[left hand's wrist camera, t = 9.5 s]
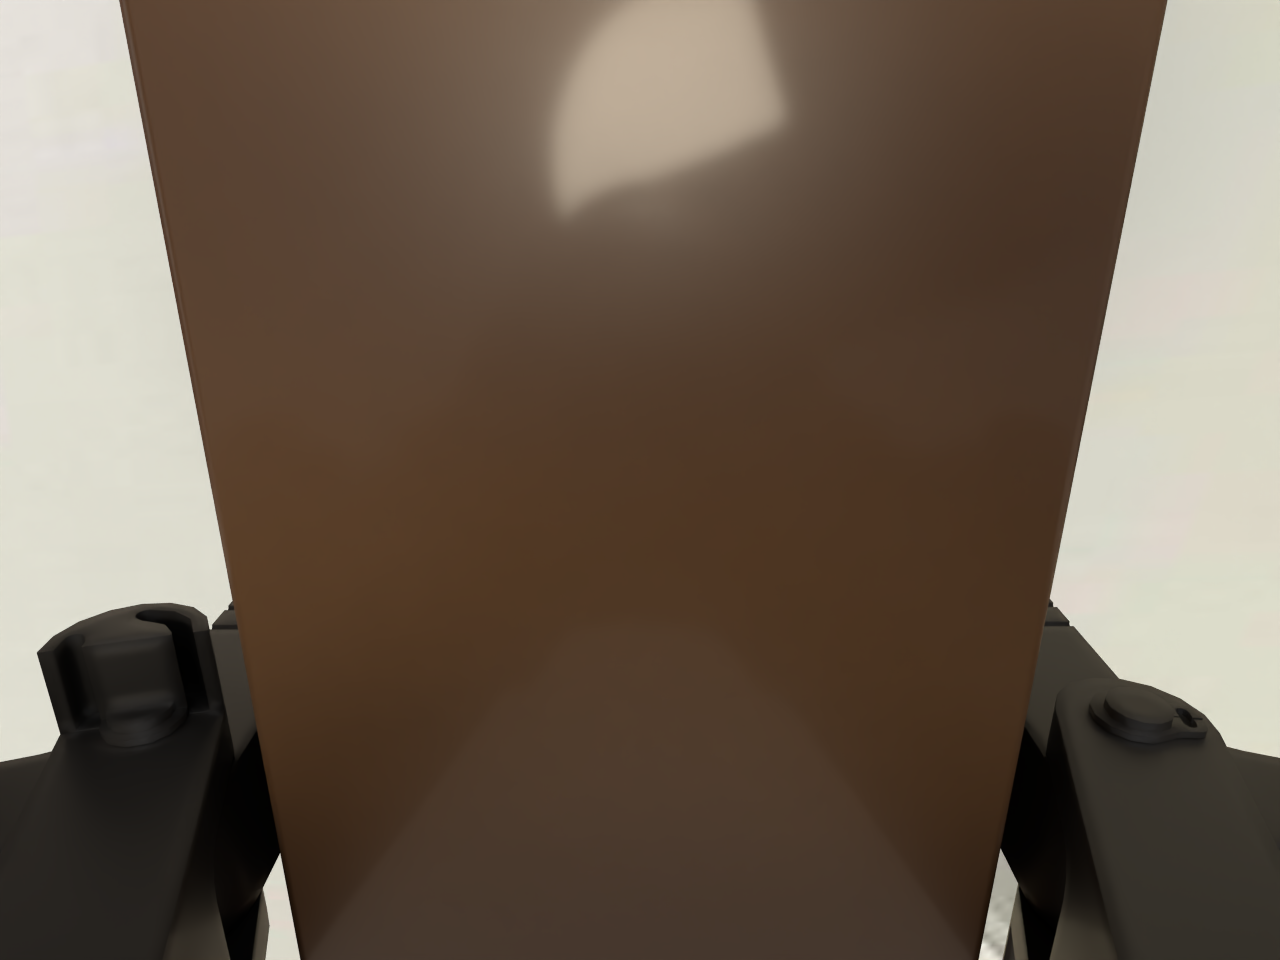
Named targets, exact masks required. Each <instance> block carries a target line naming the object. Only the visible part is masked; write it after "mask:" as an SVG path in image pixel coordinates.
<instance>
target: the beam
mask: <svg viewBox="0 0 1280 960" xmlns="http://www.w3.org/2000/svg"><path fill="white" fill-rule="evenodd" d="M119 1H120V7H121V12H122V17H123V23H124V28H125V33H126V39H127V44H128V49H129V54H130V60H131V65H132V70H133V76H134V81H135V86H136V91H137V97H138V102H139V107H140V113H141V118H142V123H143V128H144V134H145V139H146V144H147V150H148V155H149V160H150V166H151V171H152V176H153V181H154V187H155V192H156V197H157V203H158V208H159V213H160V218H161V224H162V229H163V234H164V240H165V245H166V250H167V256H168V261H169V266H170V271H171V277H172V282H173V287H174V293H175V298H176V303H177V308H178V314H179V319H180V324H181V330H182V335H183V340H184V345H185V351H186V356H187V361H188V367H189V372H190V377H191V383H192V388H193V393H194V398H195V404H196V409H197V414H198V420H199V425H200V430H201V435H202V441H203V446H204V451H205V457H206V462H207V467H208V472H209V478H210V483H211V488H212V494H213V499H214V504H215V510H216V515H217V520H218V525H219V531H220V536H221V541H222V547H223V552H224V557H225V562H226V568H227V573H228V578H229V584H230V589H231V594H232V600H233V605H234V610H235V615H236V621H237V626H238V631H239V637H240V642H241V647H242V652H243V658H244V663H245V668H246V674H247V679H248V684H249V689H250V695H251V700H252V705H253V711H254V716H255V721H256V727H257V732H258V737H259V742H260V748H261V753H262V758H263V764H264V769H265V774H266V779H267V785H268V790H269V795H270V801H271V806H272V811H273V816H274V822H275V827H276V832H277V838H278V843H279V848H280V854H281V859H282V864H283V869H284V875H285V880H286V885H287V891H288V896H289V901H290V906H291V912H292V917H293V922H294V928H295V933H296V938H297V944H298V949H299V954H300V959H301V960H978V959H979V954H980V949H981V944H982V939H983V934H984V929H985V924H986V919H987V913H988V908H989V903H990V898H991V893H992V888H993V883H994V878H995V873H996V868H997V863H998V858H999V853H1000V847H1001V842H1002V837H1003V832H1004V827H1005V822H1006V817H1007V812H1008V807H1009V802H1010V797H1011V792H1012V787H1013V781H1014V776H1015V771H1016V766H1017V761H1018V756H1019V751H1020V746H1021V741H1022V736H1023V731H1024V726H1025V721H1026V715H1027V710H1028V705H1029V700H1030V695H1031V690H1032V685H1033V680H1034V675H1035V670H1036V665H1037V660H1038V655H1039V650H1040V644H1041V639H1042V634H1043V629H1044V624H1045V619H1046V614H1047V609H1048V604H1049V599H1050V594H1051V589H1052V584H1053V578H1054V573H1055V568H1056V563H1057V558H1058V553H1059V548H1060V543H1061V538H1062V533H1063V528H1064V523H1065V518H1066V512H1067V507H1068V502H1069V497H1070V492H1071V487H1072V482H1073V477H1074V472H1075V467H1076V462H1077V457H1078V452H1079V446H1080V441H1081V436H1082V431H1083V426H1084V421H1085V416H1086V411H1087V406H1088V401H1089V396H1090V391H1091V386H1092V380H1093V375H1094V370H1095V365H1096V360H1097V355H1098V350H1099V345H1100V340H1101V335H1102V330H1103V325H1104V320H1105V315H1106V309H1107V304H1108V299H1109V294H1110V289H1111V284H1112V279H1113V274H1114V269H1115V264H1116V259H1117V254H1118V249H1119V243H1120V238H1121V233H1122V228H1123V223H1124V218H1125V213H1126V208H1127V203H1128V198H1129V193H1130V188H1131V183H1132V177H1133V172H1134V167H1135V162H1136V157H1137V152H1138V147H1139V142H1140V137H1141V132H1142V127H1143V122H1144V117H1145V111H1146V106H1147V101H1148V96H1149V91H1150V86H1151V81H1152V76H1153V71H1154V66H1155V61H1156V56H1157V51H1158V45H1159V40H1160V35H1161V30H1162V25H1163V20H1164V15H1165V10H1166V5H1167V0H119Z"/></svg>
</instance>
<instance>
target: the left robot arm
mask: <svg viewBox="0 0 1280 960" xmlns="http://www.w3.org/2000/svg"><path fill="white" fill-rule="evenodd" d="M37 655H38V659H39V662H40V665H41V669H42V672H43V676H44V679H45V683H46V686H47V689H48V693H49V696H50V700H51V703H52V707H53V710H54V713H55V717H56V720H57V724H58V727H59V731H60V736H59V738H58V740H57V742H56V744H55V746H54V748H53V750H52V751H51V752H48V753H44V754H40V755H35V756H30V757H25V758H19V759H14V760H9V761H4V762H0V960H265V958H266V949H267V941H268V933H269V920H268V913H267V906H266V902H265V897H264V892H263V886H264V884H265V882H266V880H267V878H268V876H269V874H270V872H271V870H272V868H273V866H274V864H275V862H276V860H277V858H278V856H279V854H280V848H279V843H278V838H277V832H276V827H275V822H274V816H273V811H272V806H271V801H270V795H269V790H268V785H267V779H266V774H265V769H264V764H263V758H262V753H261V748H260V742H259V737H258V732H257V727H256V721H255V716H254V711H253V705H252V700H251V695H250V689H249V684H248V679H247V674H246V668H245V663H244V658H243V652H242V647H241V642H240V637H239V631H238V626H237V621H236V615H235V610H234V605H233V601H232V602H231V603H230V605H229V609H228V610H224V612H223V613H222V614H221V615H220V616H219V617H218V619H217V620H216V621H215V622H214V623H213V624H212V630H210V629H209V625H208V620H207V616H205V615H204V614H202V613H201V612H200V611H198V610H197V609H195V608H194V607H190V606H184V605H179V604H174V603H157V604H140V605H135V606H130V607H125V608H120V609H115V610H110V611H107V612H105V613H102V614H99V615H96V616H93V617H91V618H88V619H85V620H82V621H80V622H78V623H76V624H74V625H72V626H71V627H69V628H67V629H65V630H64V631H62V632H60V633H58V634H56V635H55V636H53V637H52V638H51V639H50V640H49V641H48V642H47V643H46V644H45V645H44V646H43V647H42V648H41V649H40V650H39V651H38V652H37ZM1000 848H1001V850H1002V852H1003V854H1004V856H1005V858H1006V860H1007V862H1008V864H1009V866H1010V868H1011V870H1012V872H1013V874H1014V876H1015V878H1016V880H1017V882H1018V887H1017V892H1016V897H1015V902H1014V906H1013V911H1012V916H1011V921H1010V926H1009V931H1008V936H1007V941H1006V945H1005V950H1004V955H1003V960H1280V758H1277V757H1272V756H1267V755H1262V754H1256V753H1251V752H1246V751H1241V750H1238V749H1234V748H1230V747H1227V746H1226V744H1225V742H1224V740H1223V739H1222V737H1221V735H1220V733H1219V732H1218V730H1217V729H1216V728H1215V727H1214V726H1213V724H1212V723H1211V722H1210V721H1209V720H1208V718H1207V717H1206V716H1205V715H1204V714H1202V713H1201V712H1199V711H1198V710H1197V709H1195V708H1194V707H1192V706H1191V705H1189V704H1188V703H1186V702H1185V701H1183V700H1182V699H1180V698H1178V697H1175V696H1173V695H1171V694H1168V693H1166V692H1163V691H1161V690H1159V689H1156V688H1154V687H1152V686H1148V685H1144V684H1139V683H1135V682H1131V681H1127V680H1122V679H1119V678H1118V677H1117V676H1116V675H1115V674H1114V672H1113V671H1112V670H1111V669H1110V668H1109V667H1108V665H1107V664H1106V663H1105V662H1104V661H1103V660H1102V659H1101V657H1100V656H1099V655H1098V654H1097V653H1096V652H1095V650H1094V649H1093V648H1092V647H1091V646H1090V645H1089V644H1088V642H1087V641H1086V640H1085V639H1084V638H1083V637H1082V635H1081V634H1080V633H1079V632H1078V631H1077V630H1076V629H1075V627H1074V626H1070V625H1069V620H1068V619H1067V618H1066V617H1065V616H1064V615H1063V614H1062V612H1061V611H1060V610H1059V609H1058V608H1057V607H1053V602H1052V601H1051V600H1050V599H1049V604H1048V609H1047V614H1046V619H1045V624H1044V629H1043V634H1042V639H1041V644H1040V650H1039V655H1038V660H1037V665H1036V670H1035V675H1034V680H1033V685H1032V690H1031V695H1030V700H1029V705H1028V710H1027V715H1026V721H1025V726H1024V731H1023V736H1022V741H1021V746H1020V751H1019V756H1018V761H1017V766H1016V771H1015V776H1014V781H1013V787H1012V792H1011V797H1010V802H1009V807H1008V812H1007V817H1006V822H1005V827H1004V832H1003V837H1002V842H1001V847H1000Z"/></svg>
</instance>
